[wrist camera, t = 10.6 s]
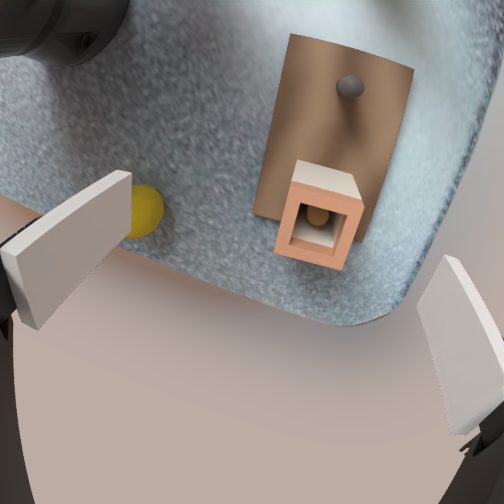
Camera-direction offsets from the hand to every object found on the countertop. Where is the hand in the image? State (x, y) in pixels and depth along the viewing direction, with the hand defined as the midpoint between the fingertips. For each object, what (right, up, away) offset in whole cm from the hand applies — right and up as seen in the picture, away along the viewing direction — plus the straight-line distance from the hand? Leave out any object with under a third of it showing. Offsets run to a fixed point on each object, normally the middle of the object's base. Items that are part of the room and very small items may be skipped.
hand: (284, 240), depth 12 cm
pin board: (+7, +11, +17) cm, 21 cm away
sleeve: (+5, +5, +19) cm, 21 cm away
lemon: (-13, +6, +24) cm, 28 cm away
